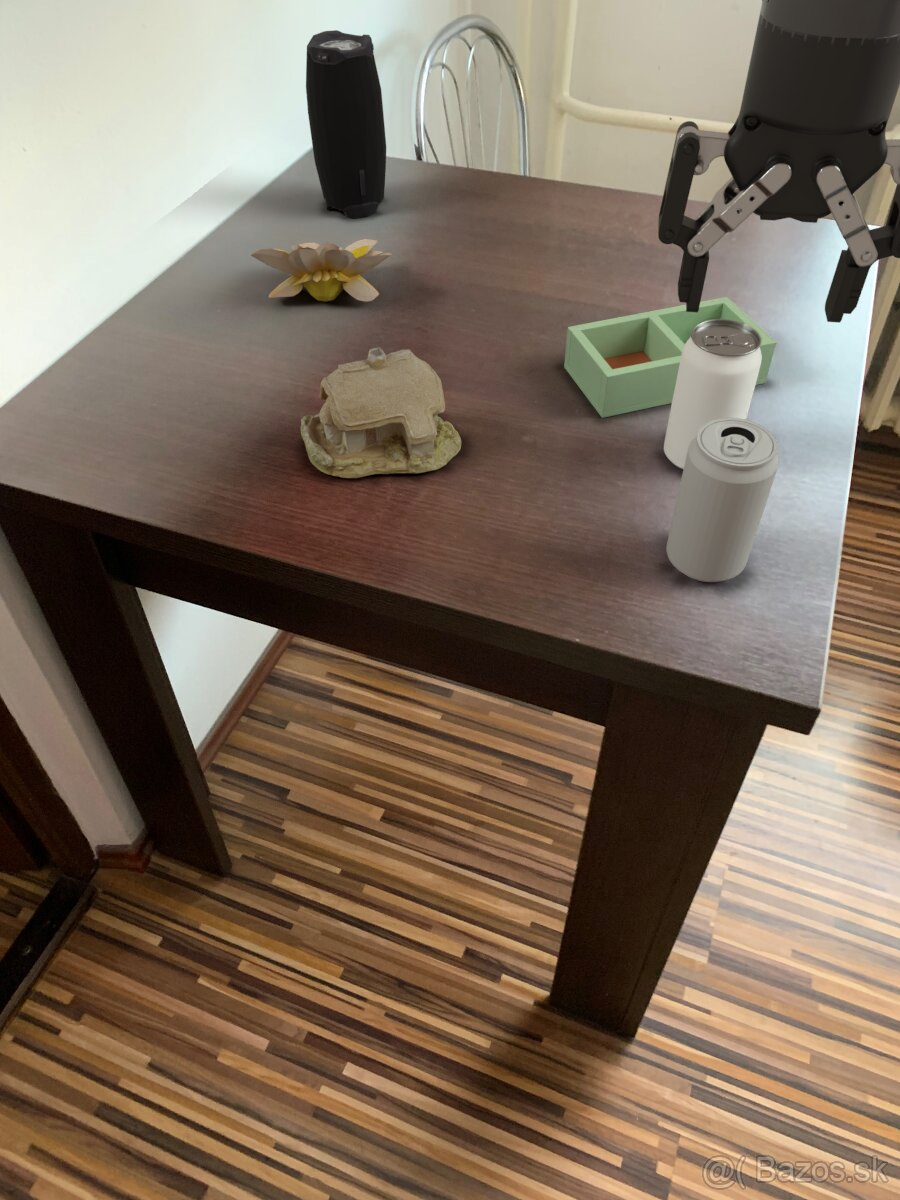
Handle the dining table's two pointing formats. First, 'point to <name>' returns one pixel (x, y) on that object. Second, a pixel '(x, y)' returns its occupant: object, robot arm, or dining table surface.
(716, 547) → the beverage can
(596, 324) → the cup holder
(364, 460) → the ceramic model
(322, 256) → the decorative flower
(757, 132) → the robot arm
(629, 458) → the dining table surface
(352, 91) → the portable speaker
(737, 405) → the can
